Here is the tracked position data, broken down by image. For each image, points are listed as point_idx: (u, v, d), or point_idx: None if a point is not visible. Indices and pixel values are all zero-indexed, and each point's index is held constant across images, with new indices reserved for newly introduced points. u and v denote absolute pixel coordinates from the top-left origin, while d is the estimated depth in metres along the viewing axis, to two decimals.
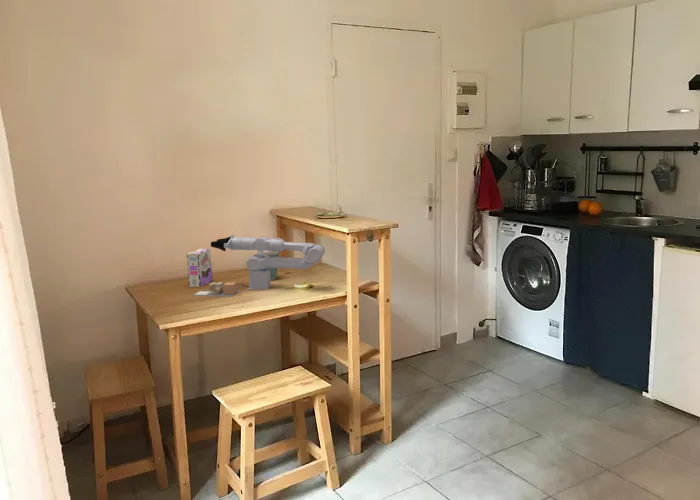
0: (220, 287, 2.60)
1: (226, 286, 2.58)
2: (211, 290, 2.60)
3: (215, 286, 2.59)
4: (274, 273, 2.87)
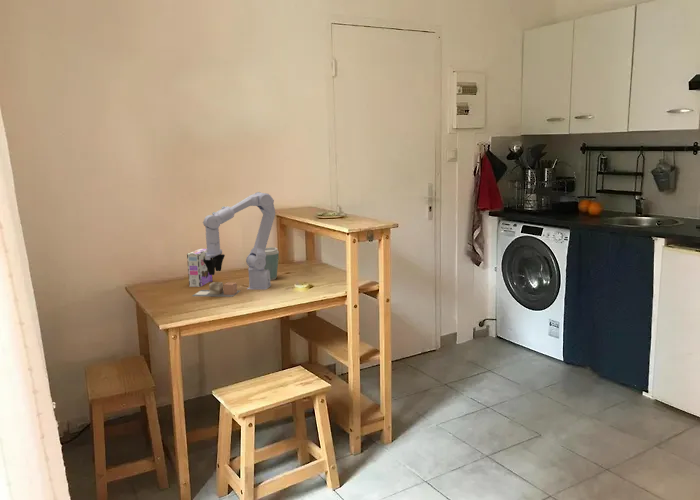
0: (220, 287, 2.60)
1: (226, 286, 2.58)
2: (211, 290, 2.60)
3: (215, 286, 2.59)
4: (274, 273, 2.87)
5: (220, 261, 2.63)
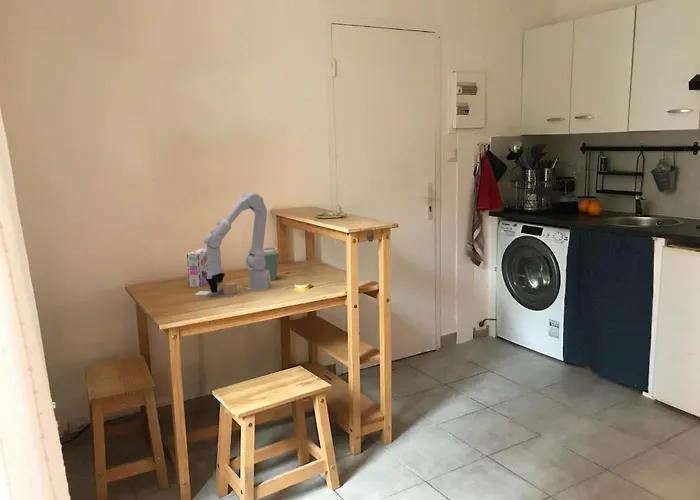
0: (220, 287, 2.60)
1: (226, 286, 2.58)
2: None
3: None
4: (274, 273, 2.87)
5: (220, 280, 2.63)
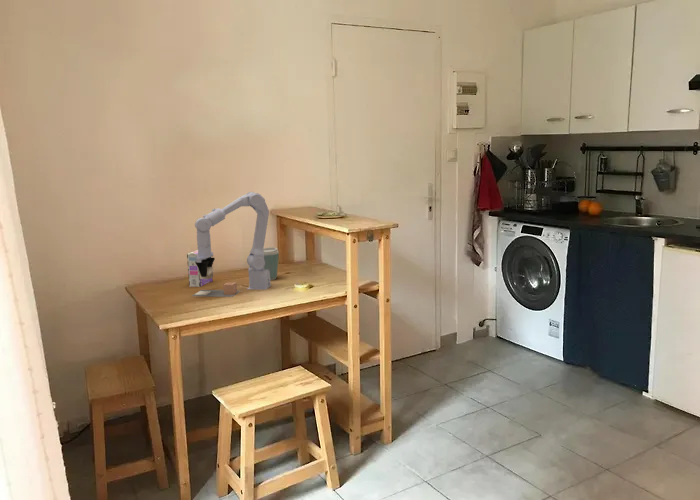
0: (210, 271, 2.60)
1: (226, 286, 2.58)
2: None
3: None
4: (274, 273, 2.87)
5: (210, 264, 2.62)
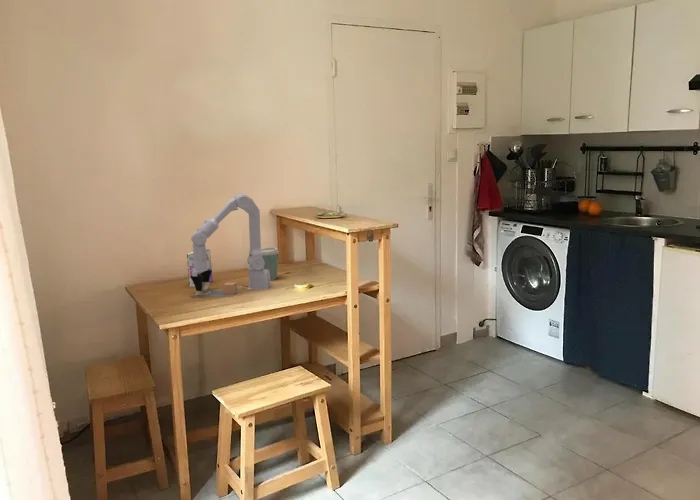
0: (206, 287, 2.62)
1: (226, 286, 2.58)
2: None
3: None
4: (274, 273, 2.87)
5: (207, 277, 2.65)
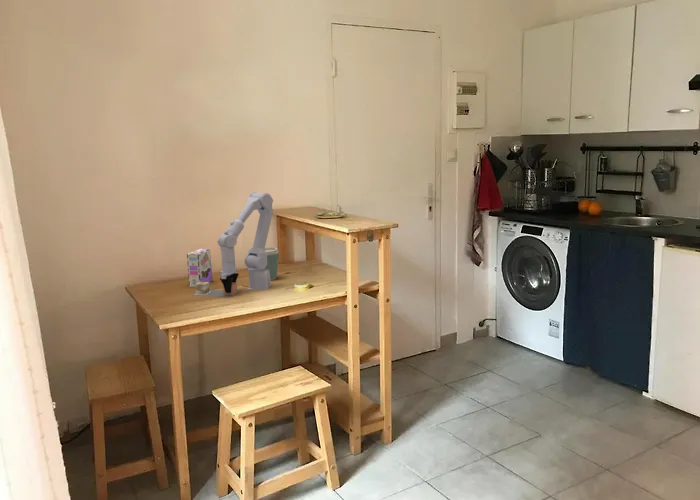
0: (206, 287, 2.62)
1: None
2: (197, 290, 2.61)
3: (201, 286, 2.60)
4: (274, 273, 2.87)
5: (234, 280, 2.62)
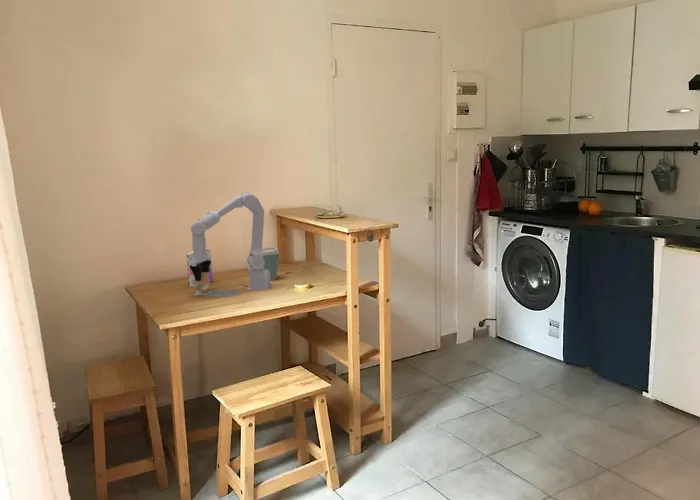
0: (206, 287, 2.62)
1: None
2: (197, 290, 2.61)
3: (201, 286, 2.60)
4: (274, 273, 2.87)
5: (207, 267, 2.64)
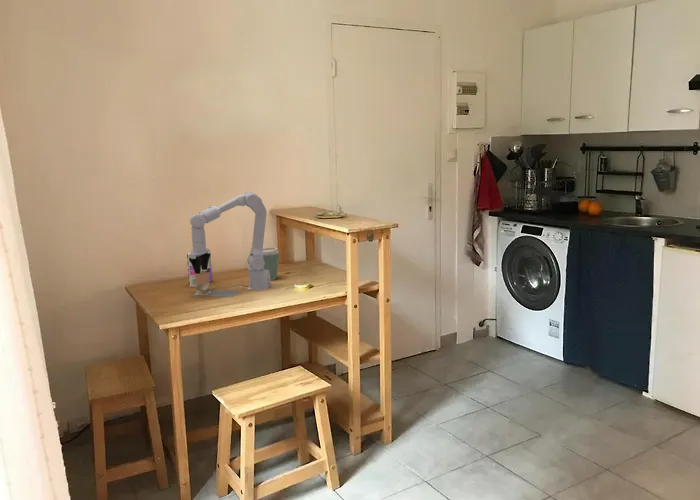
0: (206, 287, 2.62)
1: (198, 276, 2.59)
2: (197, 290, 2.61)
3: (201, 286, 2.60)
4: (274, 273, 2.87)
5: (206, 260, 2.64)
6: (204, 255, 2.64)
